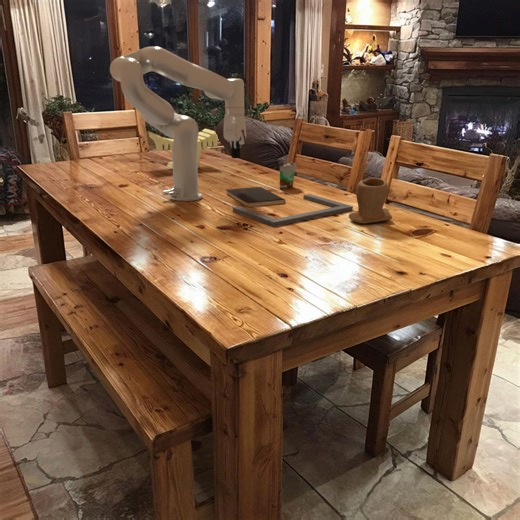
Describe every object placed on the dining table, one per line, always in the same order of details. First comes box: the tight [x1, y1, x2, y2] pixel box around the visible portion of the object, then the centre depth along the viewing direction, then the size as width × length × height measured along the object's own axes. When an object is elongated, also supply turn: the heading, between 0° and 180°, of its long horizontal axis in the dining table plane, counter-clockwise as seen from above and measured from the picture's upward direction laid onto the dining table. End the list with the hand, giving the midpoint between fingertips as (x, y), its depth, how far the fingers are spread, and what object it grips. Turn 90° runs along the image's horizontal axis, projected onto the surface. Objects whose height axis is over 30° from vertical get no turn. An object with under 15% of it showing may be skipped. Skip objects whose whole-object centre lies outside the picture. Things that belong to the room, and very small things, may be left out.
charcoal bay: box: [232, 193, 354, 227], centre depth 204 cm, size 37×24×2 cm, turn 127°
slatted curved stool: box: [148, 128, 218, 170], centre depth 279 cm, size 30×16×18 cm, turn 117°
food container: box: [279, 161, 297, 190], centre depth 240 cm, size 12×6×10 cm, turn 168°
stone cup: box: [348, 177, 393, 224], centre depth 189 cm, size 15×12×15 cm
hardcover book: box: [225, 186, 286, 208], centre depth 222 cm, size 16×23×2 cm
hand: (235, 157), depth 228 cm, fingers closed
